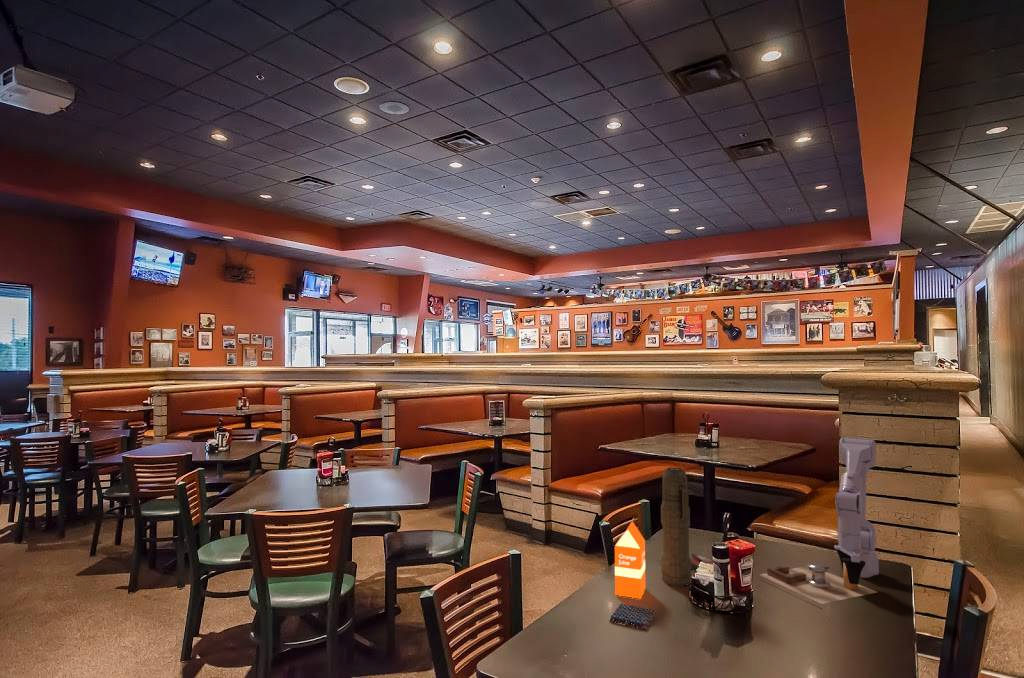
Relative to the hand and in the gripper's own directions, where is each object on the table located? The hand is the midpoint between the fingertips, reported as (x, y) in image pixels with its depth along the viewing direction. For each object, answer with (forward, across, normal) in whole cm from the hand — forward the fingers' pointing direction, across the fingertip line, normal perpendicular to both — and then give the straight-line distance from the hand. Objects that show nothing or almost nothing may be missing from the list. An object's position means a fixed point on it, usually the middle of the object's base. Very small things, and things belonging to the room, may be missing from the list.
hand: (850, 578), depth 168 cm
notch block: (+3, -3, -17) cm, 17 cm away
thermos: (+4, +7, -50) cm, 50 cm away
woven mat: (+5, +37, -59) cm, 70 cm away
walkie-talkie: (+5, -7, -42) cm, 43 cm away
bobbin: (+3, 0, -9) cm, 9 cm away
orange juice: (+5, +20, -62) cm, 65 cm away
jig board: (+4, -1, -9) cm, 10 cm away
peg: (+3, 0, 0) cm, 3 cm away
